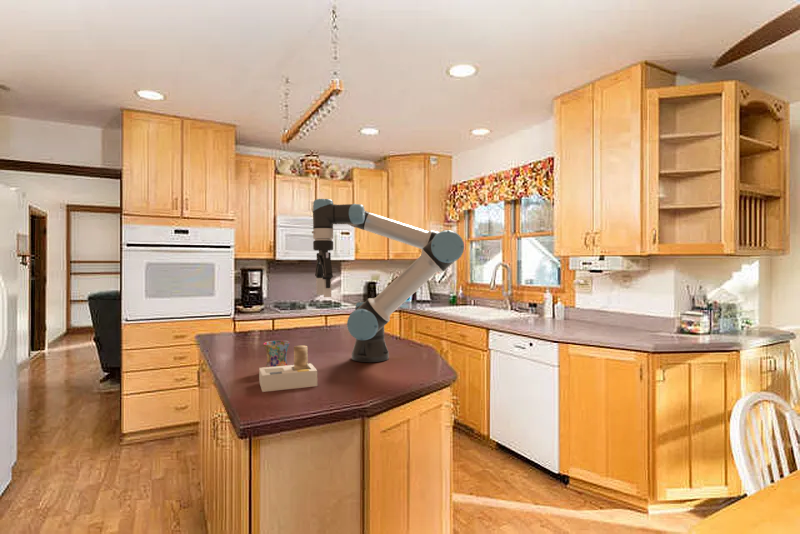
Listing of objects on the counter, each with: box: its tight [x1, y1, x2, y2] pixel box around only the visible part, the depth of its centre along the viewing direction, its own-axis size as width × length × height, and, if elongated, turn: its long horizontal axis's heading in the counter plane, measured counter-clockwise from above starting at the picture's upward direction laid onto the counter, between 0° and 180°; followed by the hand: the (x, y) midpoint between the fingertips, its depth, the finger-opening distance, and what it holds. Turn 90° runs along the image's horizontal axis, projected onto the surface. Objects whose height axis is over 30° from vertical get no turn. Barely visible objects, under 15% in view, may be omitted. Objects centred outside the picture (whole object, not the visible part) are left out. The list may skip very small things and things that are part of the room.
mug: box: [262, 340, 290, 367], centre depth 167 cm, size 12×9×11 cm
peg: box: [293, 345, 309, 371], centre depth 150 cm, size 4×4×11 cm
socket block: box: [258, 363, 318, 393], centre depth 149 cm, size 17×11×5 cm, turn 111°
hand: (323, 295), depth 175 cm, fingers open, 13 cm apart
